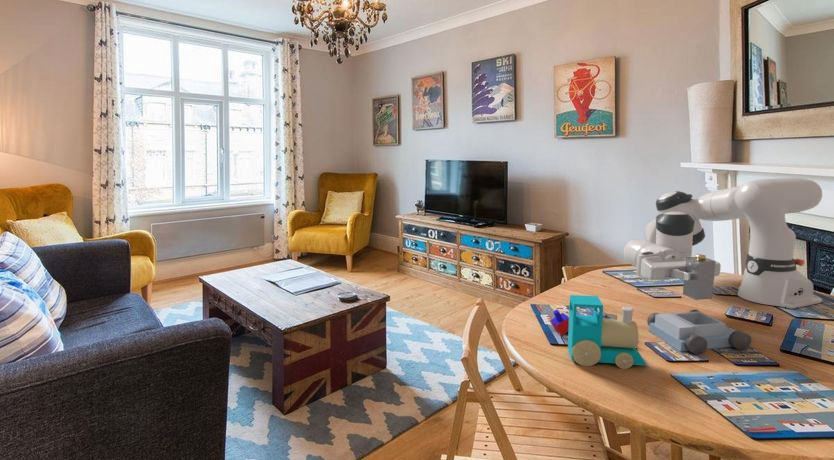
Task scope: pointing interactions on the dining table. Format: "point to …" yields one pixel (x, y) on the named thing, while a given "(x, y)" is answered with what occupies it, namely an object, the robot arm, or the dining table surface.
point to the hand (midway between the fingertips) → (701, 276)
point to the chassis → (696, 332)
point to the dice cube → (609, 316)
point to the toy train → (602, 335)
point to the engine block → (699, 277)
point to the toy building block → (560, 322)
